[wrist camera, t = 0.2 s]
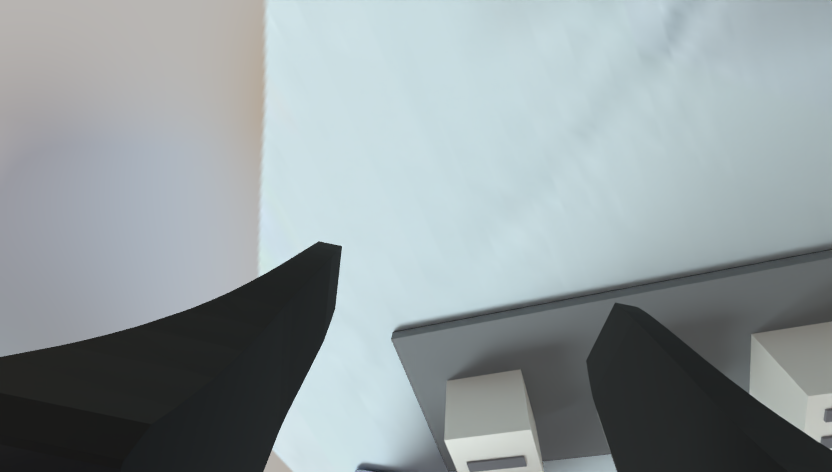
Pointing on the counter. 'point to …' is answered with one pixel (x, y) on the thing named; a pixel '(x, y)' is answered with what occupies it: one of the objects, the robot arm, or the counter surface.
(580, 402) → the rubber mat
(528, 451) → the one bar block
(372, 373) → the counter surface
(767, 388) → the two bar block
